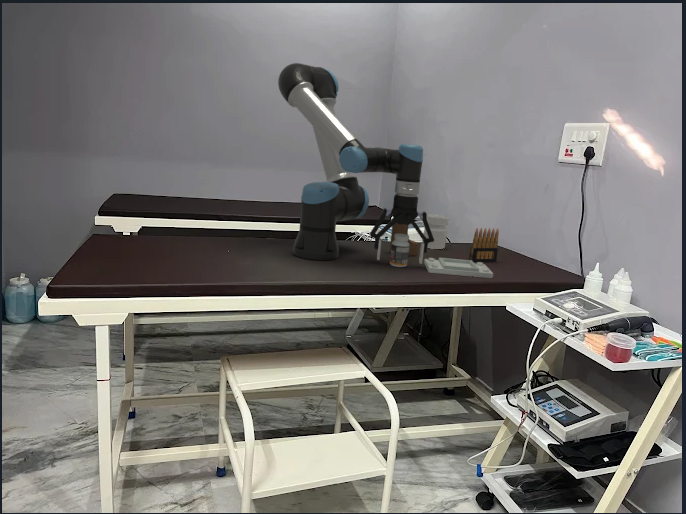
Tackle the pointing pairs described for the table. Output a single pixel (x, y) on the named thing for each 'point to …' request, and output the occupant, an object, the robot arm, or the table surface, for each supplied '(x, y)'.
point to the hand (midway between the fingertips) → (399, 260)
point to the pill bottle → (400, 250)
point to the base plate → (457, 267)
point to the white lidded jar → (437, 230)
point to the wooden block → (404, 230)
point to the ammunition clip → (484, 246)
